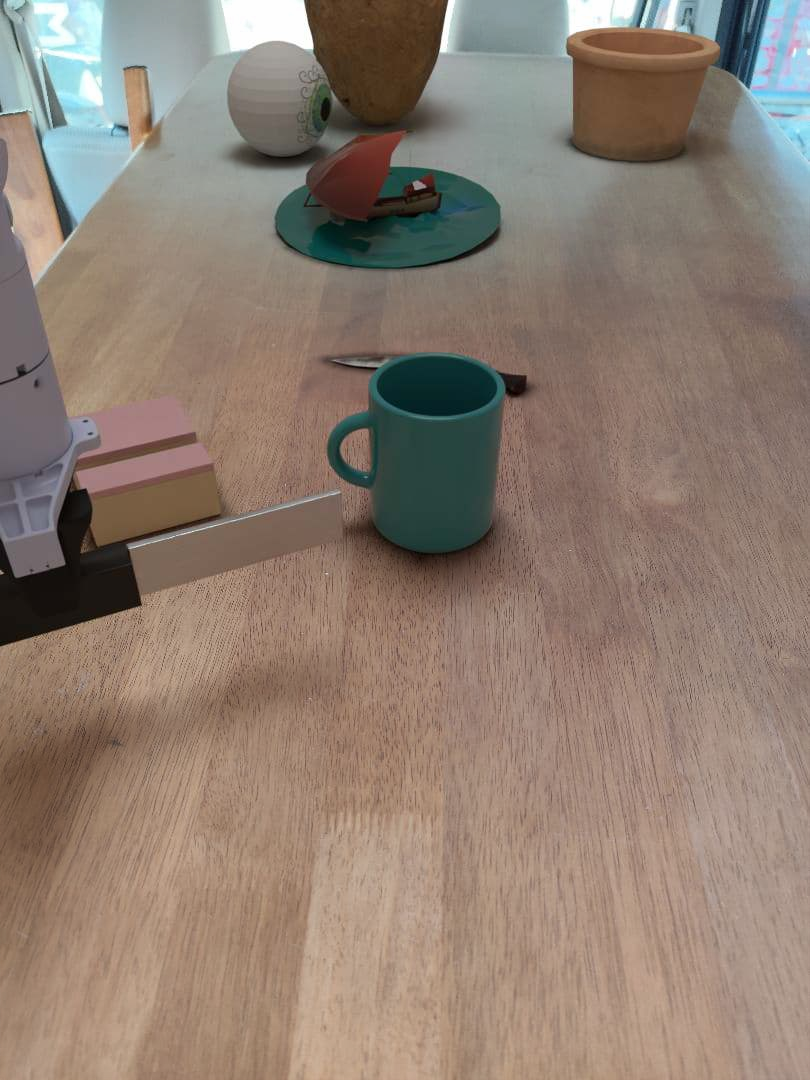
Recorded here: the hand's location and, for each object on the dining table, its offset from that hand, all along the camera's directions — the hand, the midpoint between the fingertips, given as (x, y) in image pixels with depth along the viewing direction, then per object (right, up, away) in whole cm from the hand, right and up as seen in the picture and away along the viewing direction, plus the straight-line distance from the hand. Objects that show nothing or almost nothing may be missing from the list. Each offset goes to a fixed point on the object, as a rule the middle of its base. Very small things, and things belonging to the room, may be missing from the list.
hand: (54, 594), depth 47 cm
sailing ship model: (+16, +42, +66) cm, 80 cm away
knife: (+20, +18, +37) cm, 46 cm away
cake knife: (+5, 0, +3) cm, 6 cm away
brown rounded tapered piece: (+14, +71, +101) cm, 124 cm away
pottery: (+53, +64, +93) cm, 125 cm away
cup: (+19, +4, +20) cm, 28 cm away
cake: (-3, +8, +23) cm, 25 cm away
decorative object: (0, +60, +87) cm, 106 cm away
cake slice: (0, +4, +19) cm, 20 cm away
